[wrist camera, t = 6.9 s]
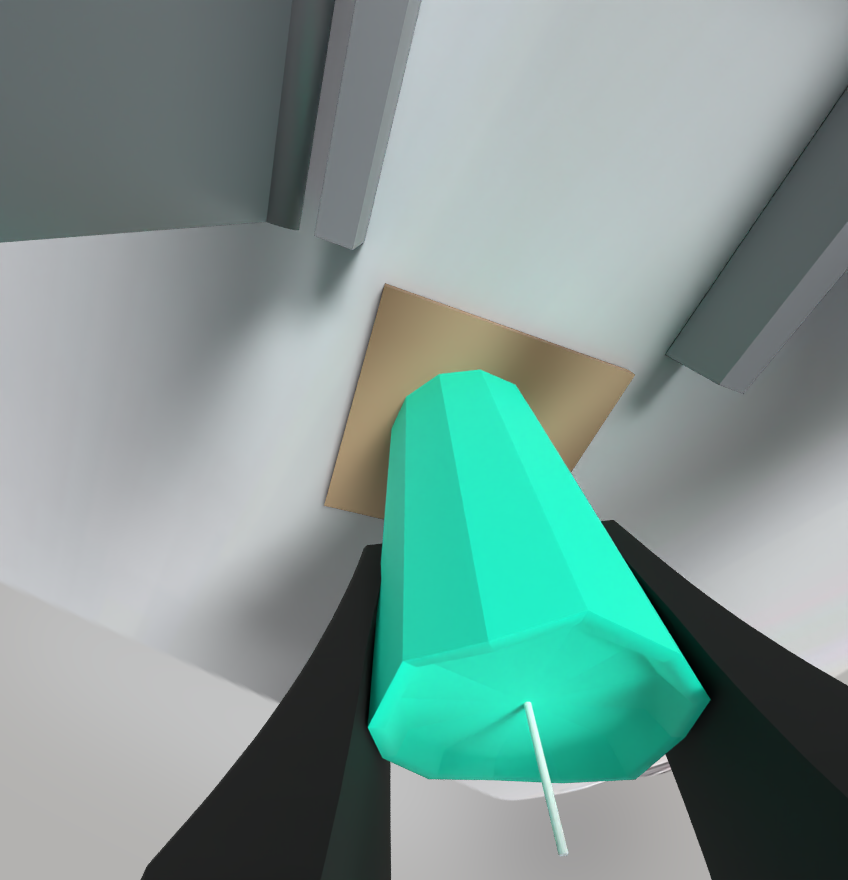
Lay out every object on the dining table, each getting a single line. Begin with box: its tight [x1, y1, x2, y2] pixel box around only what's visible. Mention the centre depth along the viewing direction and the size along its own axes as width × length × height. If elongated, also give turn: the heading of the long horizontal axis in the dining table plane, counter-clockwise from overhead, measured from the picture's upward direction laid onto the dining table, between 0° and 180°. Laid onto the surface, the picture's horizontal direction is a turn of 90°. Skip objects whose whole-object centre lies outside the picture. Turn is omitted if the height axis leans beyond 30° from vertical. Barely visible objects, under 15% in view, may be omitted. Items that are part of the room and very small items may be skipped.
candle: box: [368, 370, 711, 856], centre depth 11 cm, size 6×6×12 cm
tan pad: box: [324, 283, 635, 519], centre depth 16 cm, size 10×10×1 cm
